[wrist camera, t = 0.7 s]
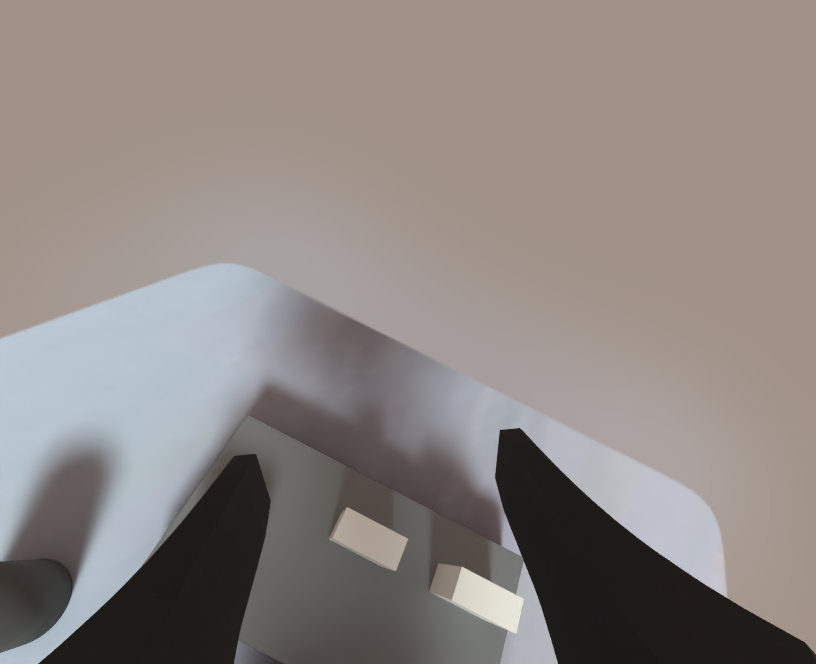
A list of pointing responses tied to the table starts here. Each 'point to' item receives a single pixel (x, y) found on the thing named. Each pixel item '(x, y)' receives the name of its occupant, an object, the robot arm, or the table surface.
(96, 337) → the table surface
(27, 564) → the dark grey cylinder
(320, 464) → the block
